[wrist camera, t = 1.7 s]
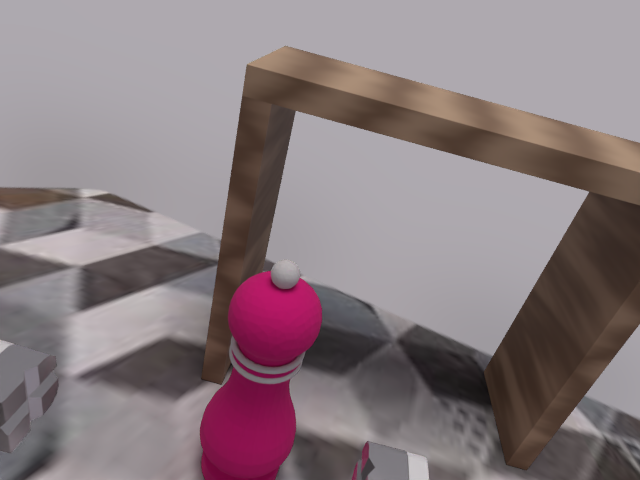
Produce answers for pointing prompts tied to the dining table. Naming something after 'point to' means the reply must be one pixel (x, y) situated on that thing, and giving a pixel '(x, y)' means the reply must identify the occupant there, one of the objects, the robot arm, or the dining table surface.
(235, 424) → the pepper mill
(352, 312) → the dining table surface
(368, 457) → the robot arm
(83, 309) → the dining table surface
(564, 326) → the arch
